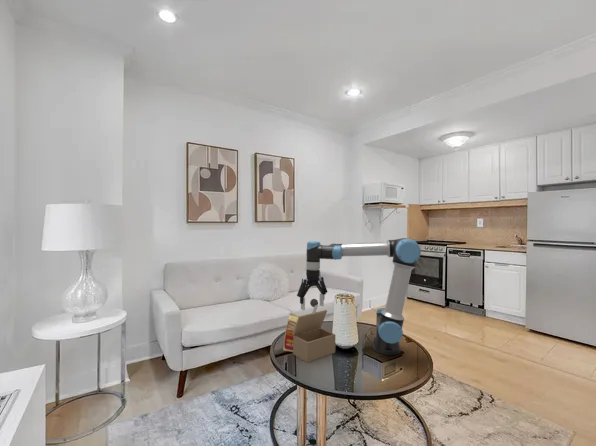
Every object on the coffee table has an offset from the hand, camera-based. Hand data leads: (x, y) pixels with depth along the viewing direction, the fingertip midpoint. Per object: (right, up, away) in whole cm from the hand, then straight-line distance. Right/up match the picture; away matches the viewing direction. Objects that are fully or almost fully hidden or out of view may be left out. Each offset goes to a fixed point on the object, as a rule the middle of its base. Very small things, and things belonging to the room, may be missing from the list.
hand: (312, 307), depth 161 cm
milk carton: (-11, -25, +4) cm, 27 cm away
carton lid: (0, -5, 0) cm, 5 cm away
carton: (+1, -24, -2) cm, 25 cm away
